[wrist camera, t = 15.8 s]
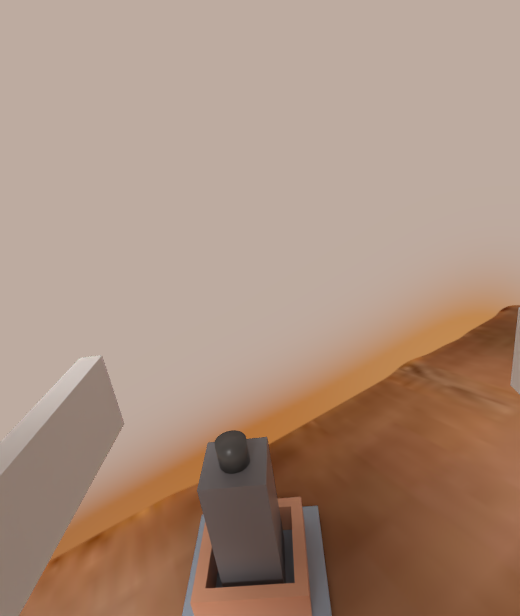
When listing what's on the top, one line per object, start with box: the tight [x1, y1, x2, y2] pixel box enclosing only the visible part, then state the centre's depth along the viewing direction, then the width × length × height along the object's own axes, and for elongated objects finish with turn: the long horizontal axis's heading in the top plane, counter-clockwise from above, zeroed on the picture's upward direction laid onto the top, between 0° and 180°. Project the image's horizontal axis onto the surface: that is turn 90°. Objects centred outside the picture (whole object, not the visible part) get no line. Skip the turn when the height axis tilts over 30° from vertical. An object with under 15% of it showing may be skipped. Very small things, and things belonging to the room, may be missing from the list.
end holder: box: [182, 497, 332, 616], centre depth 34 cm, size 12×12×4 cm
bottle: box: [197, 431, 286, 587], centre depth 32 cm, size 5×5×14 cm
